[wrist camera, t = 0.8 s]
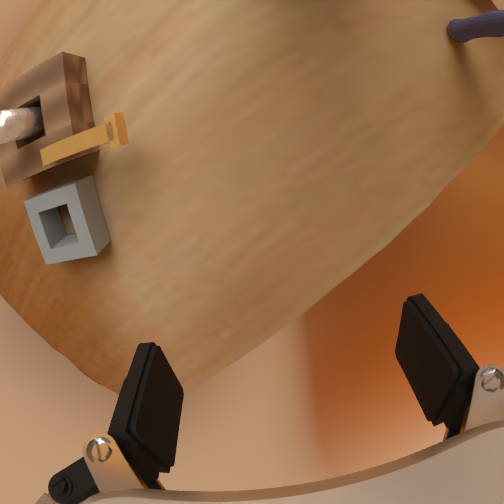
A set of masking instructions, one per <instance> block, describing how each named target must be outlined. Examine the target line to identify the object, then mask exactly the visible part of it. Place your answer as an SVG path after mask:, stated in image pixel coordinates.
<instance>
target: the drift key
mask: <svg viewBox="0 0 504 504" xmlns="http://www.w3.org/2000/svg"><path fill="white" fill-rule="evenodd" d="M104 120H105V124H102V125H99V126H97V127H94V128H91V129H88V130H86V131H83V132H80V133H78V134H75V135H73V136H70V137H68V138H65V139H63V140H61V141H58V142H56V143H54V144H51V145H49V146H47V147H45V148H43V149H40V153H41V158H42V162H43V166H45V165H47V164H50V163H53V162H56V161H58V160H61V159H63V158H66V157H68V156H71V155H74V154H76V153H79V152H82V151H85V150H88V149H90V148H93V147H96V146H99V145H102V144H105V143H109V146H110V149H112V148H116V147H119V146H122V145H126V144H129V142H128V137H127V131H126V126H125V121H124V115H123V113H112V114H109V115H106V116H104Z"/></svg>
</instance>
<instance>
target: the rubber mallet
mask: <svg viewBox="0 0 504 504" xmlns="http://www.w3.org/2000/svg"><path fill="white" fill-rule="evenodd" d="M448 32H449V34H450V36H451V37H452V38H453V39H455V40H457V41H459V42H463V43H464V42H467V41H469V40H471V39H474V38H480V37H502V36H504V10H496V11H489V12H486V13H483V14H481V15H479V16H476V17H471V18H467V19H454V20H452V21H450V23H449V25H448Z"/></svg>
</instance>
